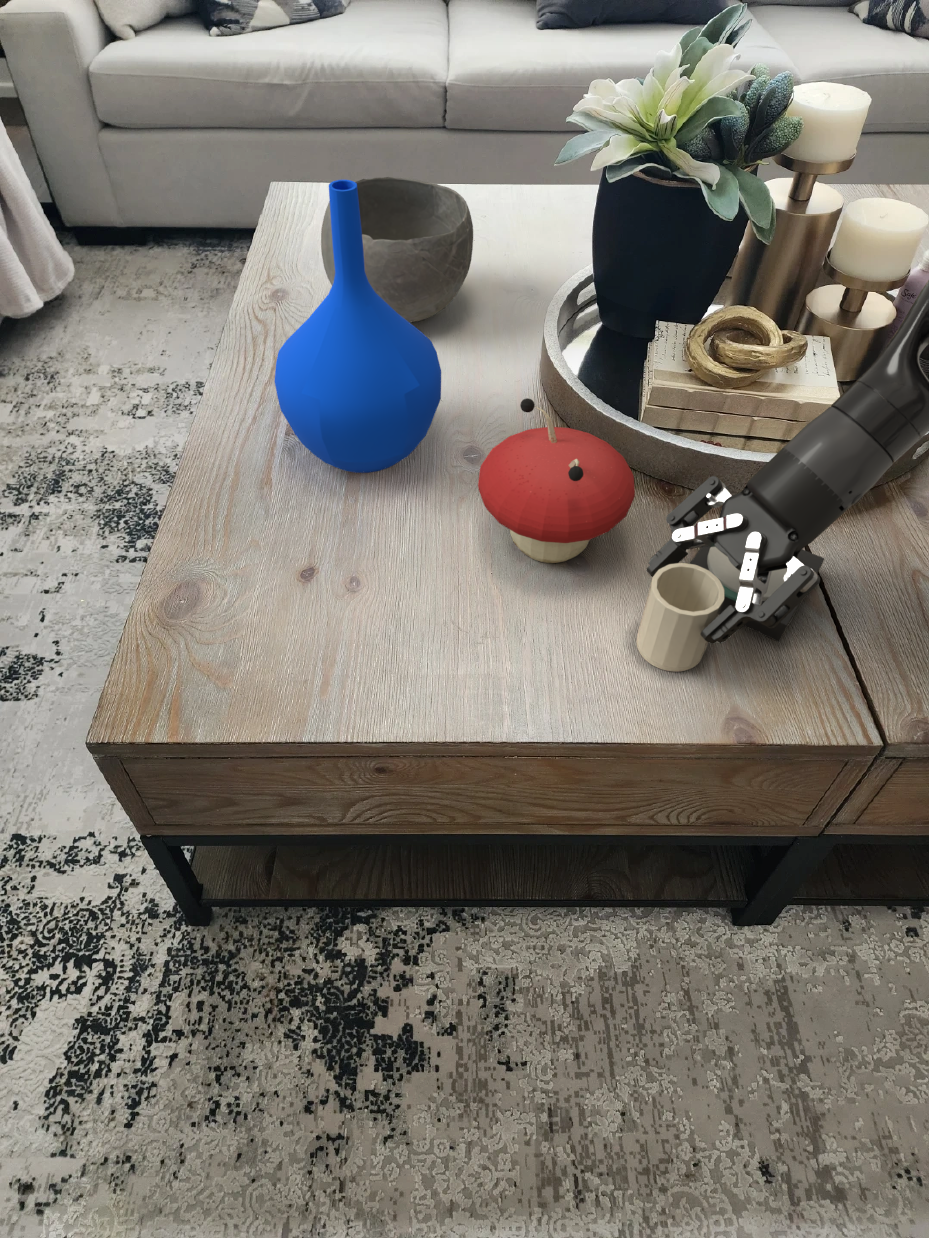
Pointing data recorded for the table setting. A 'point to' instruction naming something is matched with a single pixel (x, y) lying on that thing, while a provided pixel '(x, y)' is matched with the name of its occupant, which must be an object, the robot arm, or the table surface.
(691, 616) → the beige cup
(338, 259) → the vase
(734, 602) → the kitchen scale
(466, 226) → the bowl
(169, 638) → the table surface
